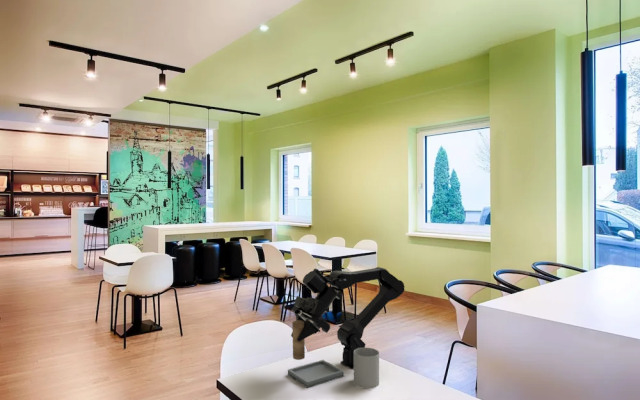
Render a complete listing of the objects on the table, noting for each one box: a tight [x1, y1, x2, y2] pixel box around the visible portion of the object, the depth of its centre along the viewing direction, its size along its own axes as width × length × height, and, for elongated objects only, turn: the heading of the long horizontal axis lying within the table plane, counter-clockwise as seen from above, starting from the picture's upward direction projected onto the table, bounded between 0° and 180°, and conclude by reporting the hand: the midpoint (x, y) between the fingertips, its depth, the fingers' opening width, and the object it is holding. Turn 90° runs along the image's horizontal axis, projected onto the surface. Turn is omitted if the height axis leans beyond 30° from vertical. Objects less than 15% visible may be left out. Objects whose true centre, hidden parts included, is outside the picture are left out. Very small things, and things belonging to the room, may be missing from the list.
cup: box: [353, 347, 380, 389], centre depth 133 cm, size 8×8×10 cm
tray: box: [287, 359, 345, 389], centre depth 138 cm, size 15×12×2 cm
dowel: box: [291, 320, 306, 361], centre depth 137 cm, size 4×4×12 cm
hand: (294, 338), depth 136 cm, fingers closed on dowel, 4 cm apart
